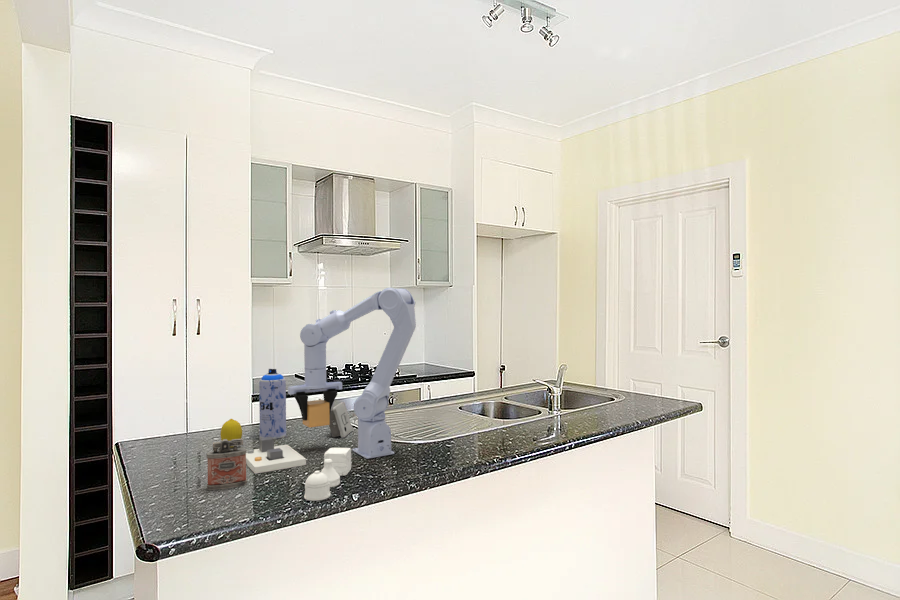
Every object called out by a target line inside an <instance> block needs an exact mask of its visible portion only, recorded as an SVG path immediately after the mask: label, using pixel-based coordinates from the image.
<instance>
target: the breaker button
mask: <svg viewBox="0 0 900 600" xmlns="http://www.w3.org/2000/svg"><path fill="white" fill-rule="evenodd" d="M282 458H283V451H282V450H281V449H280V448H276V449H270V450H267V459H268V460H269V461H270V460H276V459H282Z"/></svg>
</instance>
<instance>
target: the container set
mask: <svg viewBox="0 0 900 600" xmlns="http://www.w3.org/2000/svg"><path fill="white" fill-rule="evenodd" d="M351 469H352V449H351V447H329V448H328V449H327V450H326V451H325V452H324V455H323V468H322V469H321V471H320V470H315V471H314V472H313V473H311V474H310V475H309V476H307V478H306V480H305V482H304V495H303V496H304V499H305V500H306V501H310V502H313V501H314V502H315V501H323V500H326V499H328V498H330V497H331V491H330V490H331V488H335V487H337V486H339V485H340V484H341V477H342V476H347V475H348V474H349V472H350V471H351Z"/></svg>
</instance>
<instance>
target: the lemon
mask: <svg viewBox="0 0 900 600" xmlns="http://www.w3.org/2000/svg"><path fill="white" fill-rule="evenodd" d="M242 437H243V428H242V425H241V424H240V422H239V421H237V420H234V419H233V418H230V419H229V420H227V421H225V422H224V423H223V424H222V426H221V428H220V441H222V440H223V439H227V440H228V441H232V440H233V439H243V438H242ZM230 447H231V449H233V447H234V446H230Z"/></svg>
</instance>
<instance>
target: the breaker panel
mask: <svg viewBox="0 0 900 600" xmlns="http://www.w3.org/2000/svg"><path fill="white" fill-rule="evenodd" d="M276 448H280V449H281V450H282V451H283V458H282V459H276V460H270V461H269V460H268V459H267V450H270V449H276ZM306 465H307V459H306V458H305V456H303V455H302V454H300V453H299V452H298V451H297V450H295V449H293V448H292V447H291V446H290V445H288V444H280V445H275V439H273V438H272V437H264V438H259V439H258V448H255V449H247V453H246V466H247V467H248V468H249V469H250V470H251V471H252V472H253V473H254V474H256V475H257V474H261V473H268V472H273V471H278V470H284V469H290V468H297V467H303V466H306Z"/></svg>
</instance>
